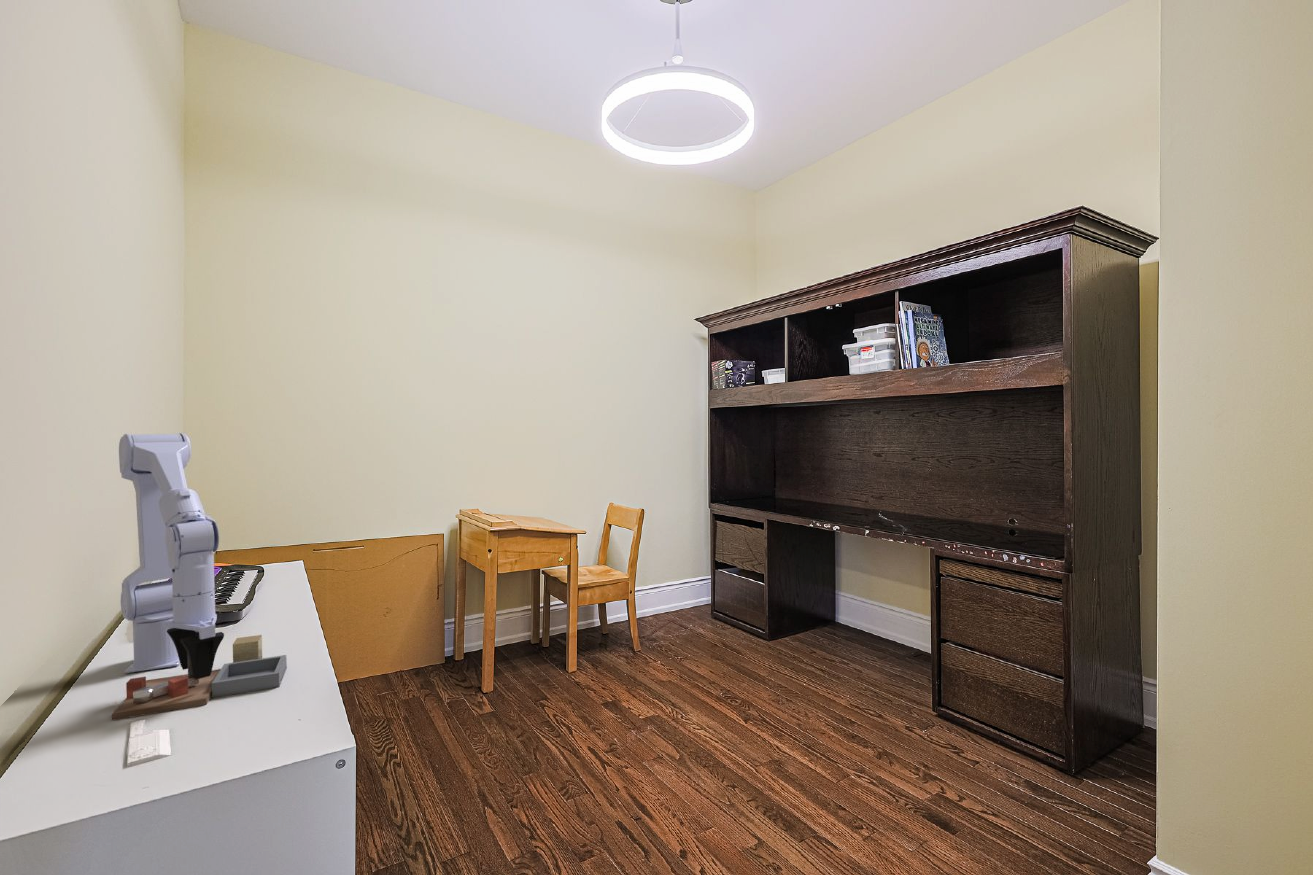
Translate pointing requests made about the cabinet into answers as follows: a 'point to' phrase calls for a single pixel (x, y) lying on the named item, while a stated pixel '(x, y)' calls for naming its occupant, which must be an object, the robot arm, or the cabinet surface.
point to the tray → (249, 676)
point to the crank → (159, 688)
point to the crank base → (166, 695)
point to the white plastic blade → (147, 744)
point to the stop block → (247, 648)
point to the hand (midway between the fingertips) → (196, 672)
